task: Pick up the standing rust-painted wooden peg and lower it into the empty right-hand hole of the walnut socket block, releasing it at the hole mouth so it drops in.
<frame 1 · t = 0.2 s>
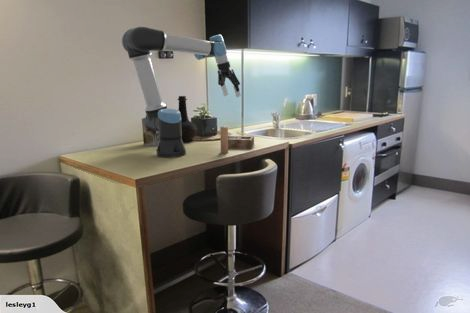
hand: (232, 96, 213), 28 cm above the countertop, tool tilted 20°, fingers open, 13 cm apart
short grey peg: (232, 145, 202), resting in socket block
glass bottle: (183, 140, 218), on the countertop
coffee box: (152, 144, 207), on the countertop
peg: (224, 152, 185), on the countertop
socket block: (239, 146, 201), on the countertop
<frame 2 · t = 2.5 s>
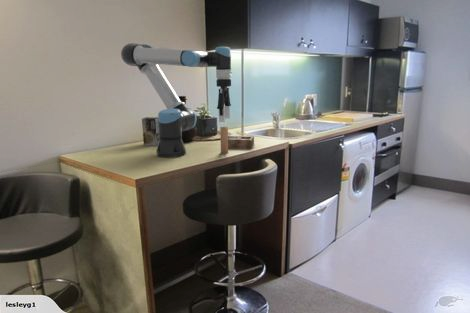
hand: (224, 120, 181), 18 cm above the countertop, tool pointing down, fingers open, 13 cm apart
nothing on the countertop moved.
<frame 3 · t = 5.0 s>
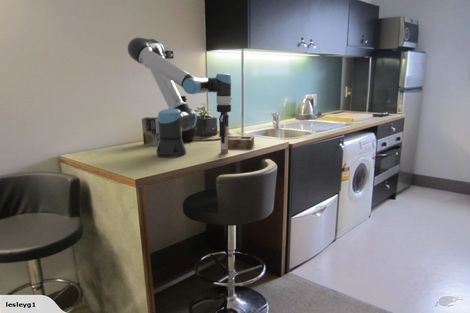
hand: (224, 147, 184), 3 cm above the countertop, tool pointing down, fingers closed on peg, 4 cm apart
peg: (224, 152, 185), on the countertop, touching gripper
everything else where it was.
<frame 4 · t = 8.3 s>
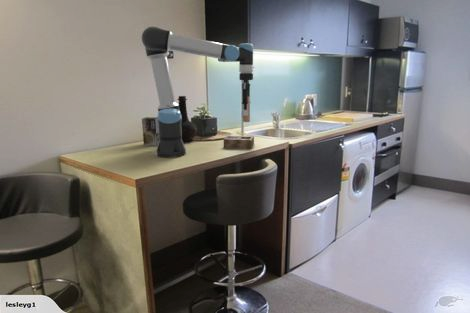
hand: (246, 114, 196), 18 cm above the countertop, tool pointing down, fingers closed on peg, 4 cm apart
peg: (246, 121, 197), point 15 cm above the countertop, touching gripper
everything else where it was.
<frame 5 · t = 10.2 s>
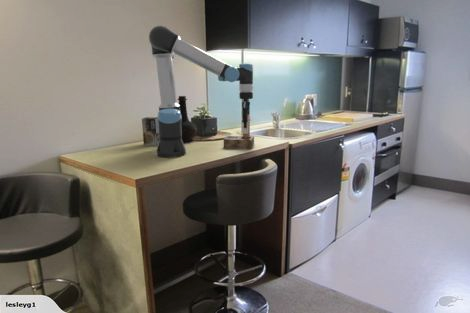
hand: (246, 132, 199), 8 cm above the countertop, tool pointing down, fingers closed on peg, 4 cm apart
peg: (246, 139, 200), point 4 cm above the countertop, touching gripper
everything else where it was.
when the fingers open (6 cm above the countertop, at t = 11.8 s): peg drops 2 cm, resting in socket block.
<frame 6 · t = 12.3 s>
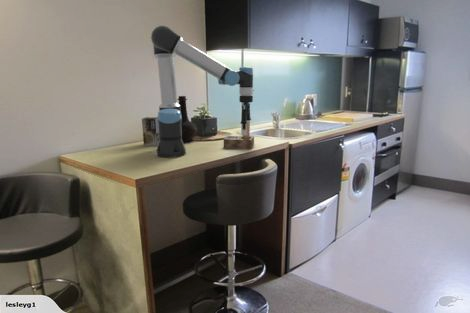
hand: (245, 133, 199), 8 cm above the countertop, tool pointing down, fingers open, 11 cm apart
peg: (246, 146, 201), resting in socket block
everything else where it was.
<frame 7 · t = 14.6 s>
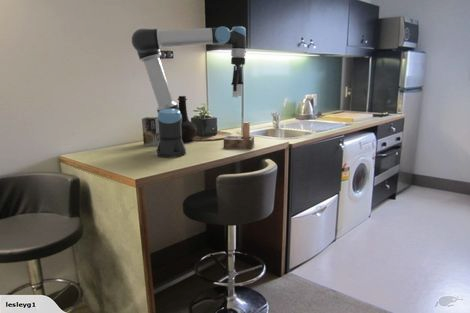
hand: (237, 96, 192), 29 cm above the countertop, tool pointing down, fingers open, 13 cm apart
nothing on the countertop moved.
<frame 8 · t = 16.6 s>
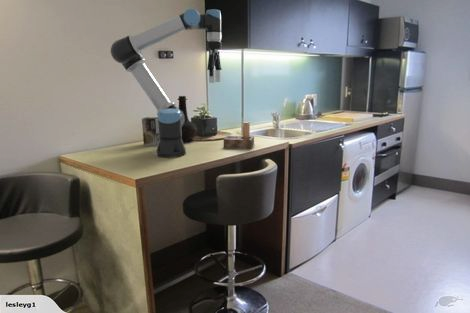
hand: (214, 82, 187), 37 cm above the countertop, tool pointing down, fingers open, 13 cm apart
nothing on the countertop moved.
at the end: peg 0.1 cm from the target spot on the socket block, point 0.0 cm above the socket block's base; peg tilted 0°; the gripper is holding nothing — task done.
